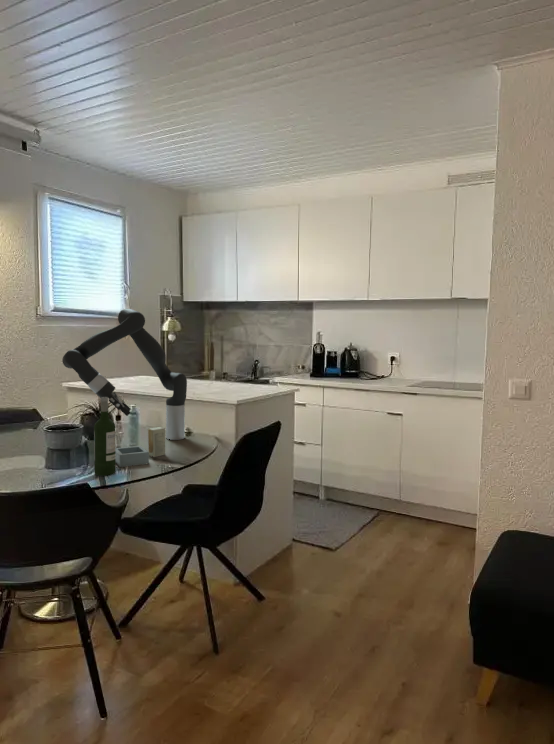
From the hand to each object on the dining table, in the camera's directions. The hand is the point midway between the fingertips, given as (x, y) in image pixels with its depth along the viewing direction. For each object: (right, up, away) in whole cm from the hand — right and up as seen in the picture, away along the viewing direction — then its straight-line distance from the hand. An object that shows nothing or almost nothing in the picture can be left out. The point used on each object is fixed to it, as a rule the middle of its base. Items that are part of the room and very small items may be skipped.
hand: (129, 412), depth 234 cm
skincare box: (+11, -19, +5) cm, 23 cm away
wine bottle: (-3, -22, -23) cm, 32 cm away
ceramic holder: (+2, -20, -7) cm, 22 cm away
